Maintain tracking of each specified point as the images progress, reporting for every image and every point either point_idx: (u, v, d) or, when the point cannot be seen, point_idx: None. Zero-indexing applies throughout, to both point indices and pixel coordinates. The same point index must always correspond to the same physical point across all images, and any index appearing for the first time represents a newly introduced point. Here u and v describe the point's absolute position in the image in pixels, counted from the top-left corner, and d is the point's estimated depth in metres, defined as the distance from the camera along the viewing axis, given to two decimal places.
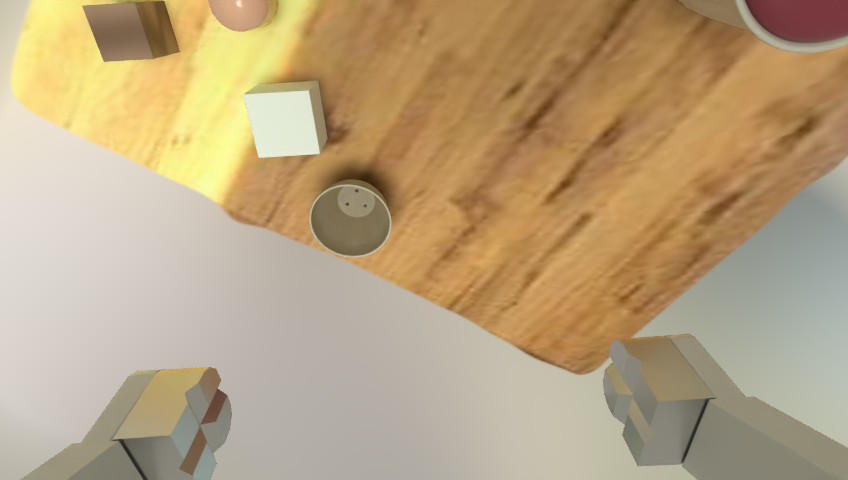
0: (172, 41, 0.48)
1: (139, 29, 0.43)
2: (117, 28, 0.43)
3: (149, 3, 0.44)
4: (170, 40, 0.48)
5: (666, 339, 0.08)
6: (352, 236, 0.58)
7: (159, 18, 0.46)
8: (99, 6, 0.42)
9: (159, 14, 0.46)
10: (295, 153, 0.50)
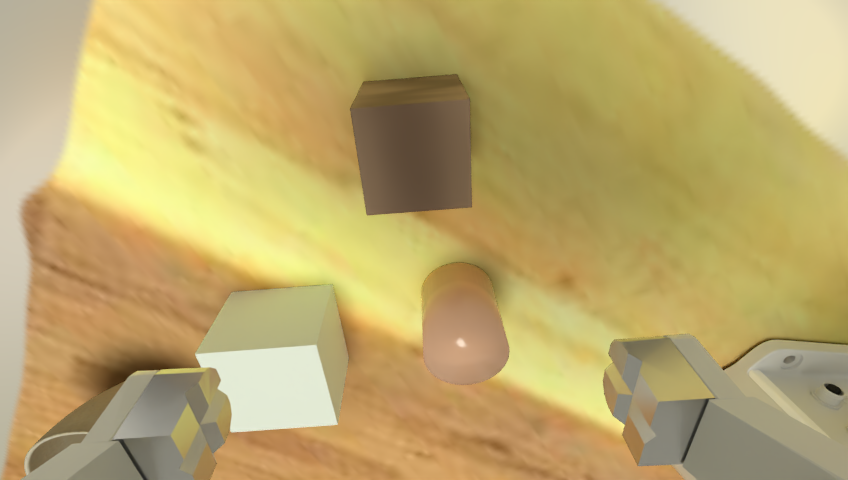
0: None
1: (422, 202, 0.20)
2: (424, 162, 0.19)
3: None
4: None
5: (667, 339, 0.08)
6: None
7: None
8: (467, 136, 0.19)
9: None
10: None
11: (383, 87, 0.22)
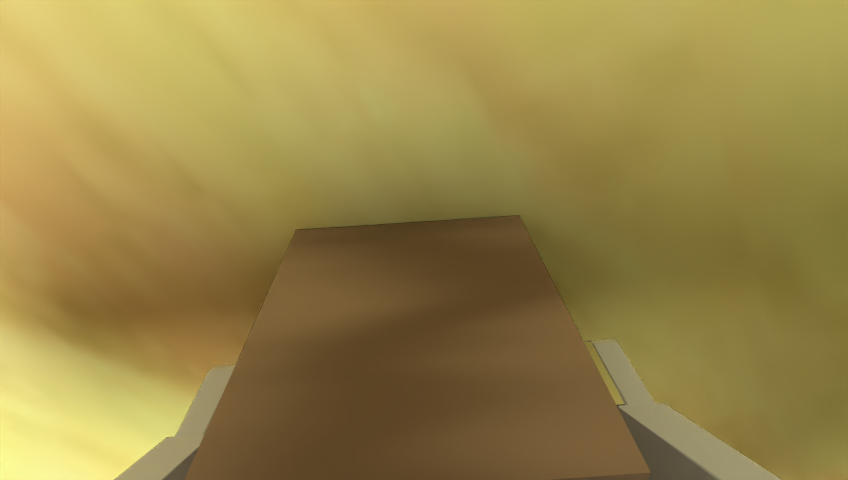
0: None
1: None
2: None
3: None
4: None
5: (590, 344, 0.08)
6: None
7: None
8: None
9: None
10: None
11: (336, 279, 0.08)
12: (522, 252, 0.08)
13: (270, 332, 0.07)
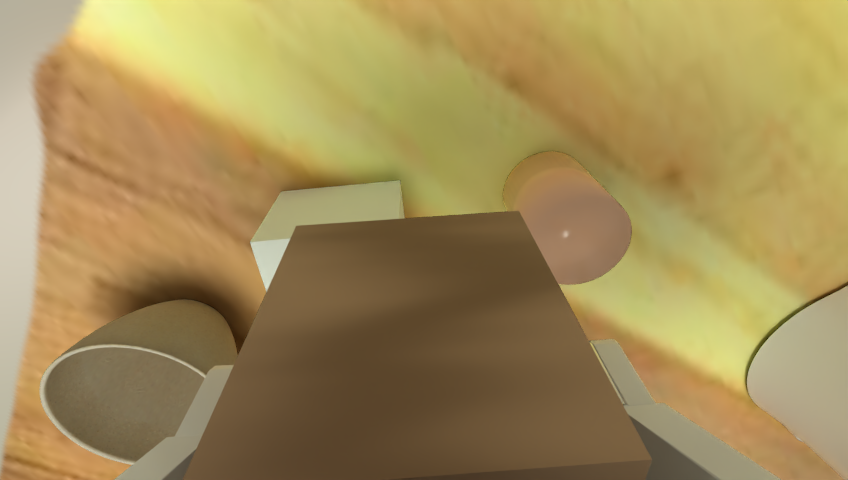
0: None
1: None
2: None
3: None
4: None
5: None
6: (102, 362, 0.27)
7: None
8: None
9: None
10: None
11: (337, 273, 0.08)
12: (522, 246, 0.08)
13: (271, 325, 0.07)
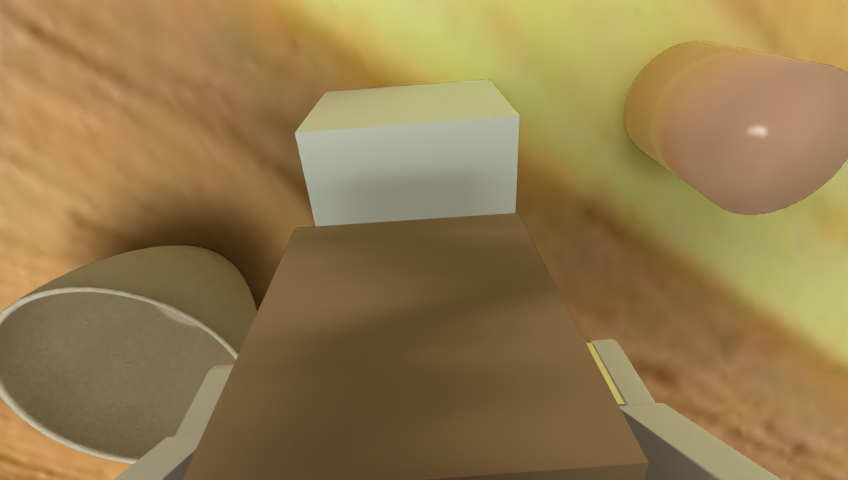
0: None
1: None
2: None
3: None
4: None
5: (589, 344, 0.08)
6: (78, 323, 0.20)
7: None
8: None
9: None
10: None
11: (336, 275, 0.08)
12: (520, 248, 0.08)
13: (270, 328, 0.07)
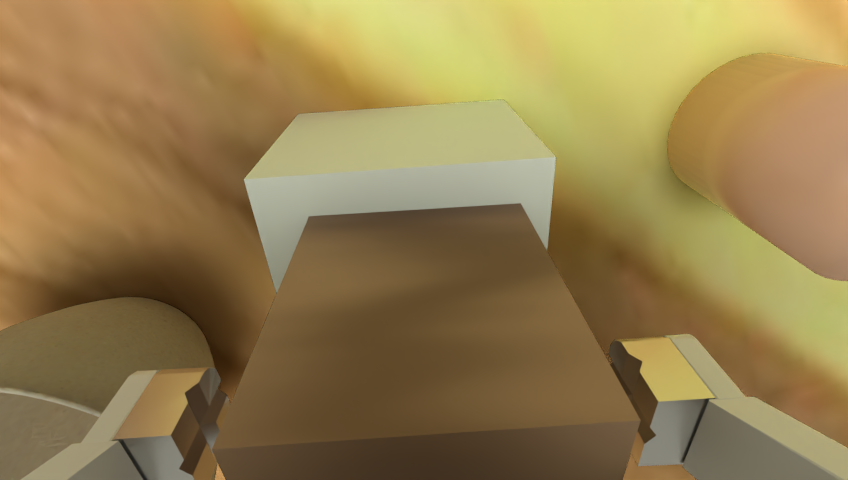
0: None
1: None
2: None
3: None
4: None
5: (666, 339, 0.08)
6: None
7: None
8: None
9: None
10: None
11: (350, 259, 0.08)
12: (524, 236, 0.09)
13: (290, 305, 0.07)
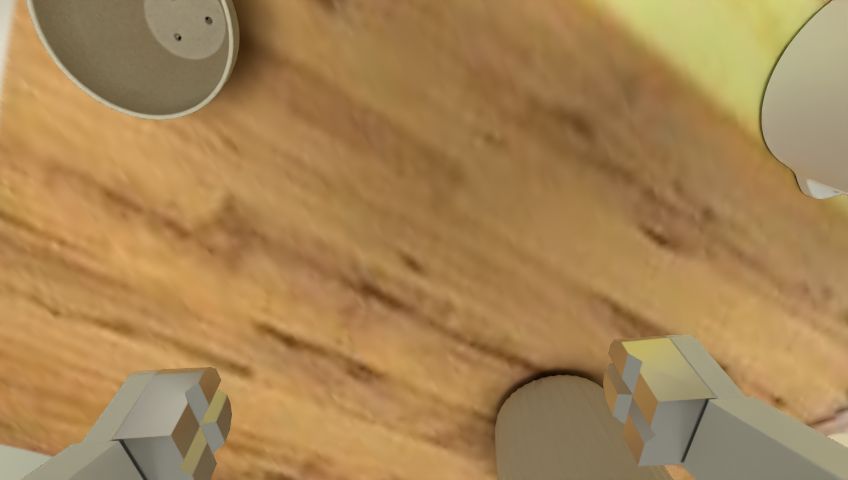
0: None
1: None
2: None
3: None
4: None
5: (667, 339, 0.08)
6: (92, 12, 0.25)
7: None
8: None
9: None
10: None
11: None
12: None
13: None
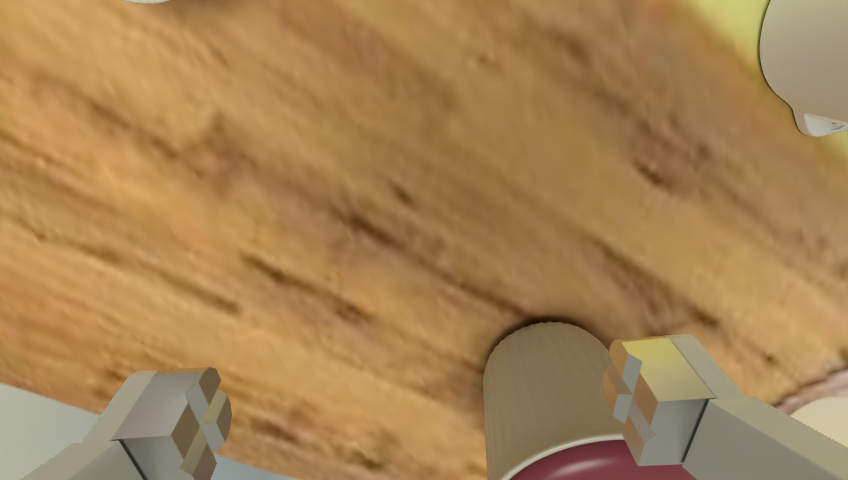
0: None
1: None
2: None
3: None
4: None
5: (666, 339, 0.08)
6: None
7: None
8: None
9: None
10: None
11: None
12: None
13: None
